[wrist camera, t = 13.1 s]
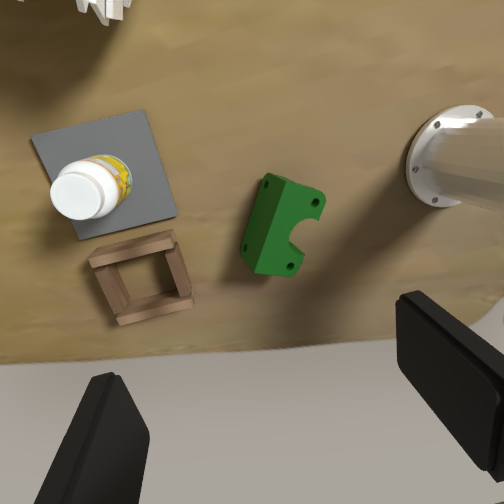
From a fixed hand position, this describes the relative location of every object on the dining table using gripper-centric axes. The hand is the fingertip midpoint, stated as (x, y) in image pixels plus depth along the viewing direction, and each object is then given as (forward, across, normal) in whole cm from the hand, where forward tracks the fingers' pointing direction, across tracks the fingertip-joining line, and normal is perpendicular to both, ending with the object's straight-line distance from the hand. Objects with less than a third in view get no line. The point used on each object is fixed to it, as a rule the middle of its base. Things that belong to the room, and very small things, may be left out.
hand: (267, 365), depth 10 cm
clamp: (+31, -6, +6) cm, 32 cm away
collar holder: (+30, +12, +8) cm, 34 cm away
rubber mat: (+30, +12, -4) cm, 33 cm away
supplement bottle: (+30, +12, -4) cm, 32 cm away
